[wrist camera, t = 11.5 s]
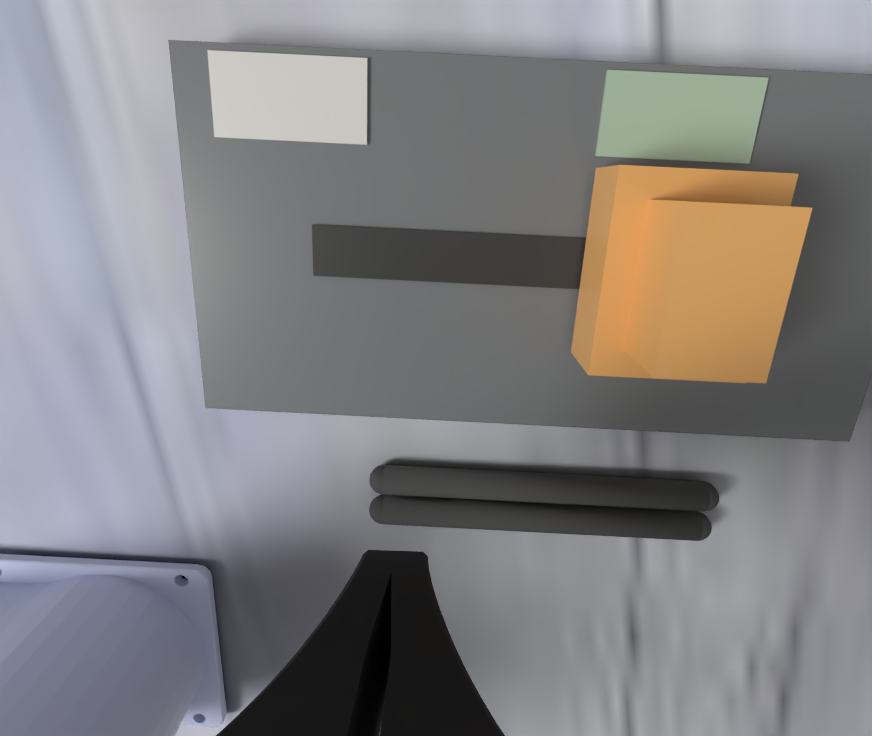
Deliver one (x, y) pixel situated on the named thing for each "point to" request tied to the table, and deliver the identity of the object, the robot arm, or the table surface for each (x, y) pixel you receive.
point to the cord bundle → (542, 502)
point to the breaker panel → (495, 231)
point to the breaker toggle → (686, 273)
